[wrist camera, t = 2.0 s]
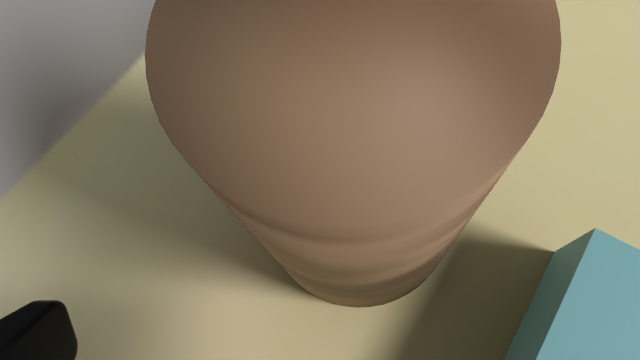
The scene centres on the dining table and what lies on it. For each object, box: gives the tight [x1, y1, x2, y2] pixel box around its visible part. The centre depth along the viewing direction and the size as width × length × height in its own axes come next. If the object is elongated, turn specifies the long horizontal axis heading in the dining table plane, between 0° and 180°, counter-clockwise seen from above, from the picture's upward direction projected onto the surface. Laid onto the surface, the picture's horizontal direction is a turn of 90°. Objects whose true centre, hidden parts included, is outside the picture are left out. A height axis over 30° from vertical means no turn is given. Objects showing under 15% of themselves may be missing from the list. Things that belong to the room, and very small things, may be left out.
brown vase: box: [145, 0, 561, 307], centre depth 14 cm, size 7×7×12 cm
